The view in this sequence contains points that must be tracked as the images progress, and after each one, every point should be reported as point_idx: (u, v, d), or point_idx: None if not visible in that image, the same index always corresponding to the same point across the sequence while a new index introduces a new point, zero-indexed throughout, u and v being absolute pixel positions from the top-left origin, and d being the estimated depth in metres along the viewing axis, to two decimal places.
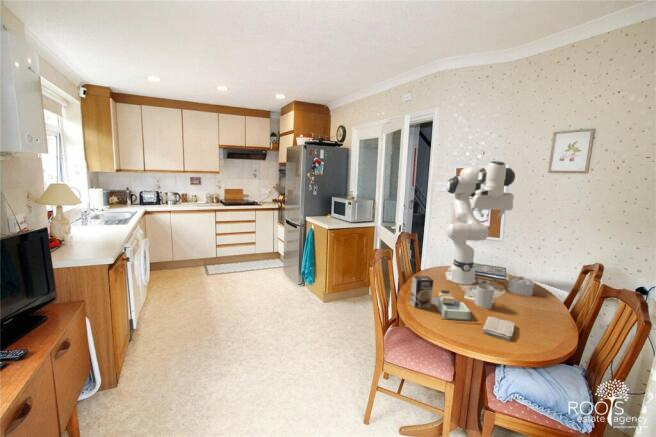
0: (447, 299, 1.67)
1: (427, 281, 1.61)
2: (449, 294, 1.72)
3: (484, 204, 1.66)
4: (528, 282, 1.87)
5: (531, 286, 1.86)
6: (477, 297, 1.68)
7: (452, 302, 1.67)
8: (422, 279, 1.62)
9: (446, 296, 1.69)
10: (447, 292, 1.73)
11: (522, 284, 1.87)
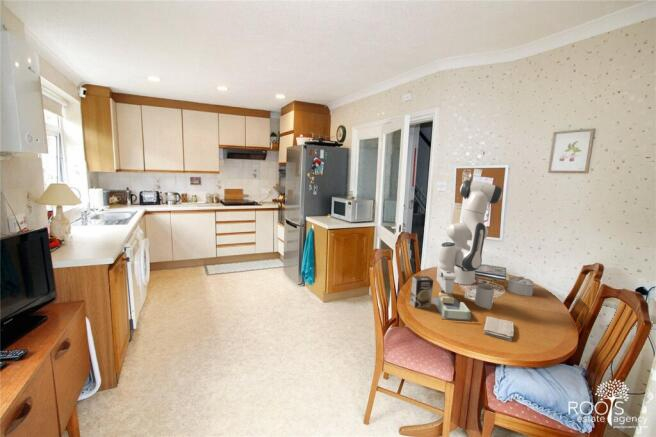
0: (447, 299, 1.67)
1: (427, 281, 1.61)
2: (449, 294, 1.72)
3: None
4: (528, 282, 1.87)
5: (531, 286, 1.86)
6: (477, 297, 1.68)
7: (452, 302, 1.67)
8: (422, 279, 1.62)
9: (446, 296, 1.69)
10: None
11: (522, 284, 1.87)
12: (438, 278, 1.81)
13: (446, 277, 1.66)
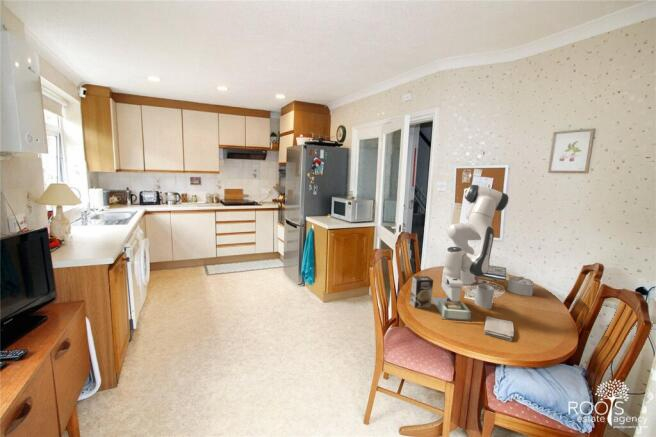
0: (453, 308, 1.57)
1: (427, 281, 1.61)
2: (455, 302, 1.61)
3: None
4: (528, 282, 1.87)
5: (531, 286, 1.86)
6: (477, 297, 1.68)
7: None
8: (422, 279, 1.62)
9: (453, 305, 1.58)
10: None
11: (522, 284, 1.87)
12: (443, 285, 1.71)
13: (452, 284, 1.55)
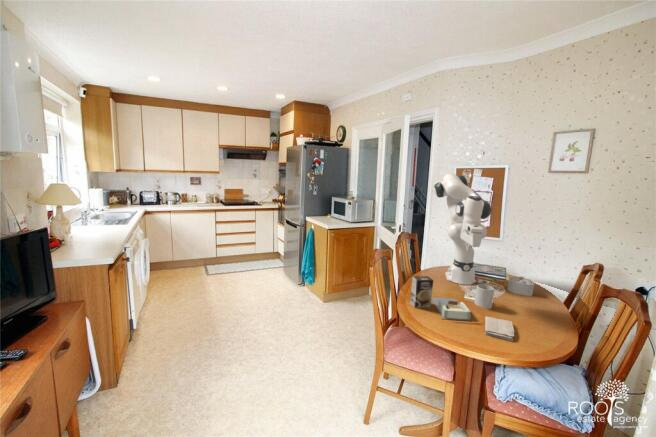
0: None
1: (427, 281, 1.61)
2: (457, 305, 1.58)
3: None
4: (528, 282, 1.87)
5: (531, 286, 1.86)
6: (477, 297, 1.68)
7: None
8: (422, 279, 1.62)
9: (455, 308, 1.55)
10: (455, 303, 1.59)
11: (522, 284, 1.87)
12: (462, 235, 1.76)
13: (473, 230, 1.61)
